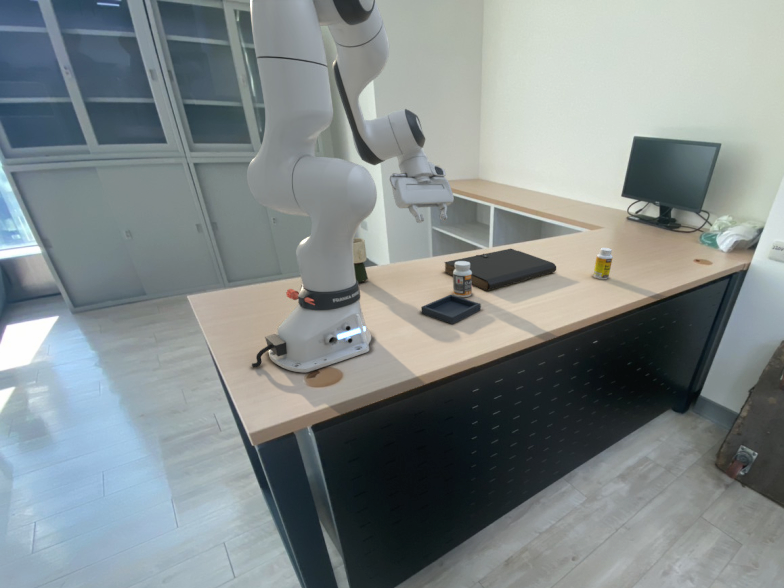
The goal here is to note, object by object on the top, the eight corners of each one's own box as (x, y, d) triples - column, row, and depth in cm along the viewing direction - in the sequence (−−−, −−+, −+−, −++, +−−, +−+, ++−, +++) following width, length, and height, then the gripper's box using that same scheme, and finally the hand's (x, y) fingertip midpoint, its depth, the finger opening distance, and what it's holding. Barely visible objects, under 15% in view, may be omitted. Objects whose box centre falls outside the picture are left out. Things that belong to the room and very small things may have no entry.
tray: (452, 324, 107) (452, 317, 106) (421, 313, 112) (421, 306, 111) (480, 310, 116) (480, 303, 115) (450, 300, 121) (450, 294, 120)
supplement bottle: (602, 281, 144) (608, 252, 139) (590, 276, 147) (594, 248, 142) (611, 278, 147) (617, 249, 142) (598, 274, 151) (603, 246, 145)
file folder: (510, 247, 161) (557, 263, 147) (509, 257, 163) (555, 274, 149) (443, 260, 141) (489, 281, 127) (443, 272, 143) (489, 293, 129)
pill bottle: (468, 298, 123) (469, 266, 118) (450, 296, 124) (450, 264, 119) (473, 292, 128) (474, 261, 123) (456, 290, 129) (456, 259, 123)
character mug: (339, 278, 132) (332, 238, 125) (359, 274, 137) (354, 235, 130) (356, 288, 126) (350, 245, 119) (376, 283, 131) (372, 242, 124)
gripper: (393, 167, 109) (411, 218, 111) (448, 169, 123) (463, 215, 126) (382, 178, 114) (399, 227, 116) (436, 179, 128) (450, 222, 130)
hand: (432, 220), depth 121 cm, fingers open, 8 cm apart
